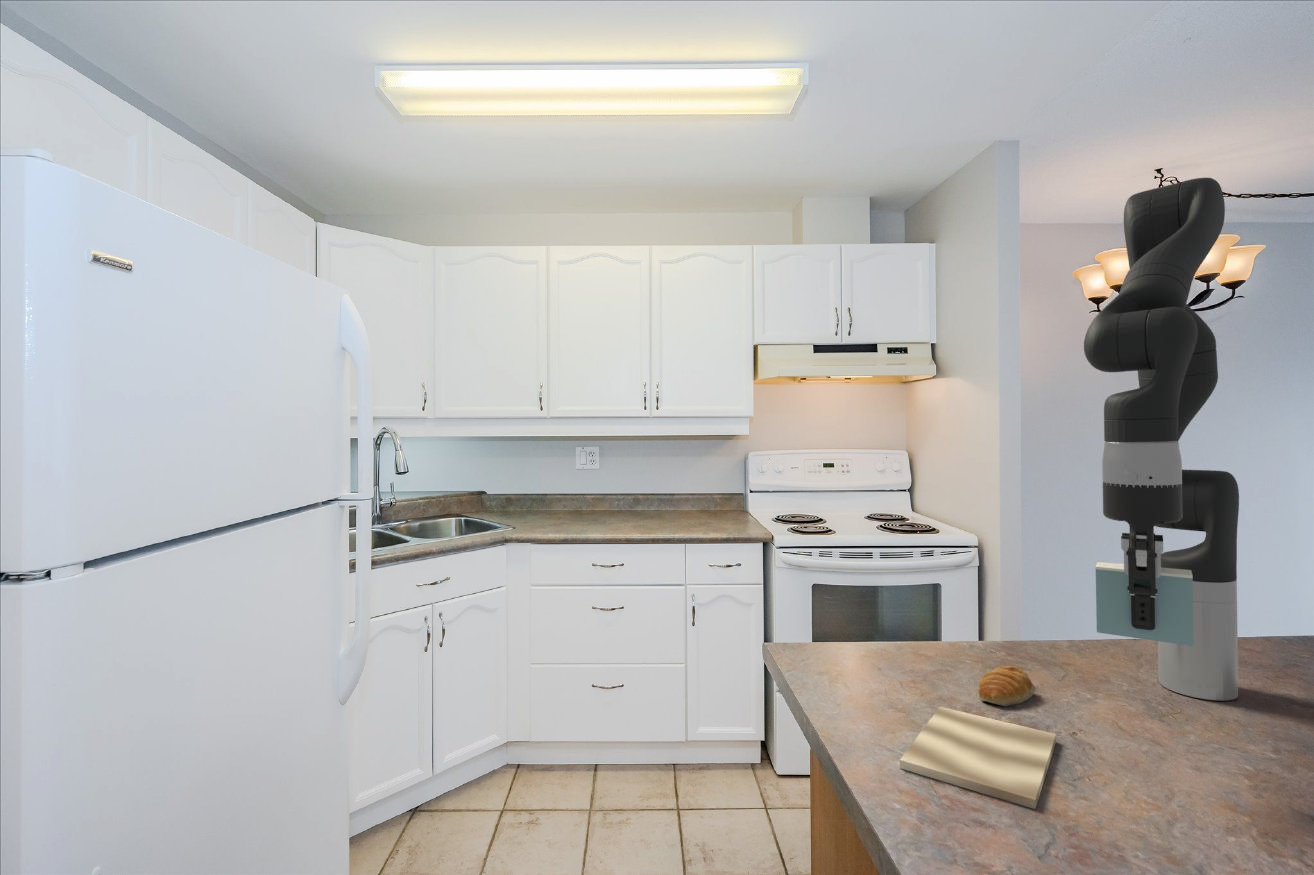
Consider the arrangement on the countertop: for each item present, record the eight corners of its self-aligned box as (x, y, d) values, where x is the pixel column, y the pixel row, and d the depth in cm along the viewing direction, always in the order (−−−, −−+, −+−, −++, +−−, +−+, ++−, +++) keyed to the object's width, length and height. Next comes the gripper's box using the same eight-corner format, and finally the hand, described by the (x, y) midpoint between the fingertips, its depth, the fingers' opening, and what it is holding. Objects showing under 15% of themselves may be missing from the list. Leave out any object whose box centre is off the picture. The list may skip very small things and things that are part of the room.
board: (940, 713, 90) (939, 706, 90) (1056, 741, 81) (1056, 733, 81) (899, 768, 76) (899, 759, 76) (1035, 809, 67) (1035, 799, 67)
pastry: (1015, 714, 90) (1015, 687, 90) (966, 700, 95) (965, 675, 95) (1038, 695, 96) (1037, 669, 96) (990, 683, 101) (990, 659, 101)
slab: (1098, 625, 80) (1097, 561, 80) (1192, 638, 74) (1191, 570, 74) (1096, 632, 77) (1095, 566, 77) (1193, 646, 72) (1192, 575, 72)
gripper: (1184, 486, 68) (1186, 647, 68) (1180, 475, 79) (1182, 614, 79) (1098, 483, 72) (1101, 635, 73) (1105, 474, 83) (1108, 605, 84)
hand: (1143, 623), depth 76 cm, fingers closed on slab, 3 cm apart
